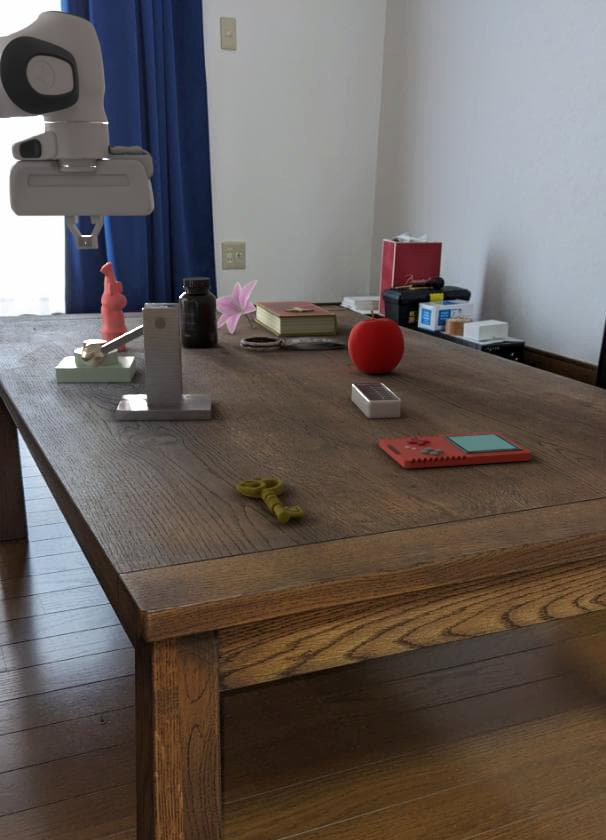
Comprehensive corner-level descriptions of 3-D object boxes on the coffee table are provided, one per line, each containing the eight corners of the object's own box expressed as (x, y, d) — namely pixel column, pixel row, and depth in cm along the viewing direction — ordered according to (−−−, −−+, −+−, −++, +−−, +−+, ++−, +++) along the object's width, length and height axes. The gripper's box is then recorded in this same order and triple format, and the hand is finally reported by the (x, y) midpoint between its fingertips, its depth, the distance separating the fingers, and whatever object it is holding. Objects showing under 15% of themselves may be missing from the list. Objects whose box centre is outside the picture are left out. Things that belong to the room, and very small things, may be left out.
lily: (214, 329, 190) (197, 290, 183) (265, 306, 190) (249, 266, 183) (227, 356, 181) (210, 317, 174) (280, 332, 181) (265, 292, 175)
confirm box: (56, 382, 135) (54, 356, 134) (66, 370, 144) (64, 345, 142) (130, 382, 136) (128, 355, 135) (136, 370, 145) (134, 345, 143)
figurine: (120, 352, 158) (114, 264, 153) (94, 350, 160) (88, 263, 154) (134, 348, 163) (129, 261, 157) (109, 346, 164) (103, 260, 159)
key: (307, 509, 81) (253, 513, 80) (307, 522, 82) (253, 527, 80) (278, 472, 92) (230, 475, 91) (278, 484, 92) (230, 487, 91)
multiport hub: (368, 418, 117) (368, 401, 117) (350, 399, 127) (351, 383, 127) (401, 417, 118) (401, 400, 117) (381, 398, 128) (381, 382, 127)
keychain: (347, 350, 162) (347, 339, 162) (242, 352, 160) (242, 341, 159) (338, 343, 170) (339, 332, 169) (238, 345, 167) (237, 334, 166)
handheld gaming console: (378, 436, 105) (496, 429, 108) (378, 446, 105) (496, 439, 109) (405, 459, 97) (532, 450, 100) (405, 469, 97) (531, 461, 101)
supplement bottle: (197, 340, 170) (195, 275, 166) (225, 344, 167) (224, 277, 162) (173, 345, 165) (170, 278, 161) (200, 350, 162) (198, 281, 157)
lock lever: (87, 374, 115) (74, 352, 114) (91, 369, 118) (78, 347, 117) (176, 328, 114) (164, 305, 113) (177, 324, 117) (165, 301, 116)
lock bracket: (116, 420, 115) (109, 310, 110) (124, 403, 123) (117, 301, 118) (210, 419, 116) (207, 310, 111) (211, 403, 124) (208, 301, 119)
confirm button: (82, 355, 137) (81, 343, 136) (85, 350, 140) (85, 339, 139) (106, 354, 137) (105, 343, 136) (109, 350, 140) (108, 339, 140)
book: (307, 318, 198) (307, 299, 196) (336, 334, 179) (337, 312, 178) (254, 320, 195) (254, 300, 193) (278, 336, 176) (278, 314, 174)
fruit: (351, 365, 150) (353, 304, 146) (405, 368, 149) (409, 306, 145) (342, 376, 142) (344, 311, 138) (399, 379, 140) (403, 314, 136)
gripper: (154, 146, 130) (160, 246, 135) (12, 146, 129) (24, 247, 135) (148, 145, 124) (155, 250, 129) (-1, 145, 124) (12, 250, 129)
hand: (87, 248), depth 132 cm, fingers closed
